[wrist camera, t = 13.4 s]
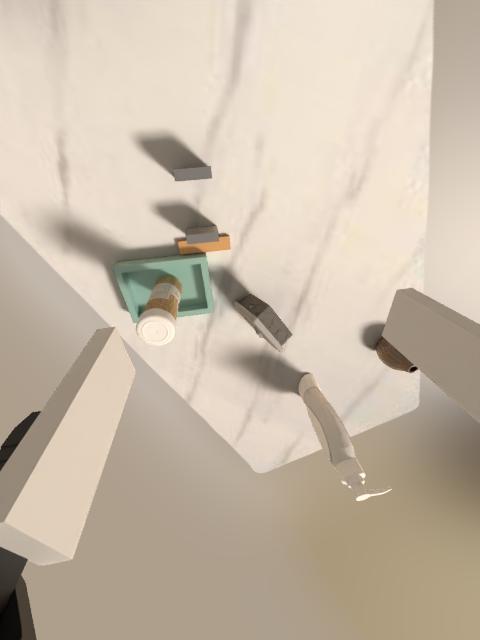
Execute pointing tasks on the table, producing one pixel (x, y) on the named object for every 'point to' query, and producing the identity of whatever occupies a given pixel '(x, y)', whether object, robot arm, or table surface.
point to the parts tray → (144, 273)
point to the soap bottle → (334, 438)
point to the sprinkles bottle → (160, 312)
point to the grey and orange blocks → (200, 236)
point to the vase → (394, 357)
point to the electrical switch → (264, 321)
